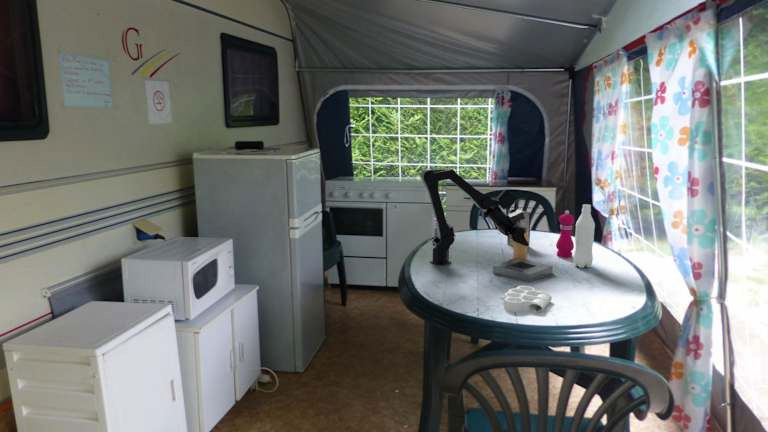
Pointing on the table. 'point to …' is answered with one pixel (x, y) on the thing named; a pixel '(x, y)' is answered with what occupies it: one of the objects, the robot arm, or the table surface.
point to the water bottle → (584, 238)
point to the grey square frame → (522, 269)
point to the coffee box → (527, 224)
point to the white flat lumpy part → (525, 299)
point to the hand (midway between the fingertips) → (523, 243)
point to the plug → (521, 246)
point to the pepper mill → (565, 236)
